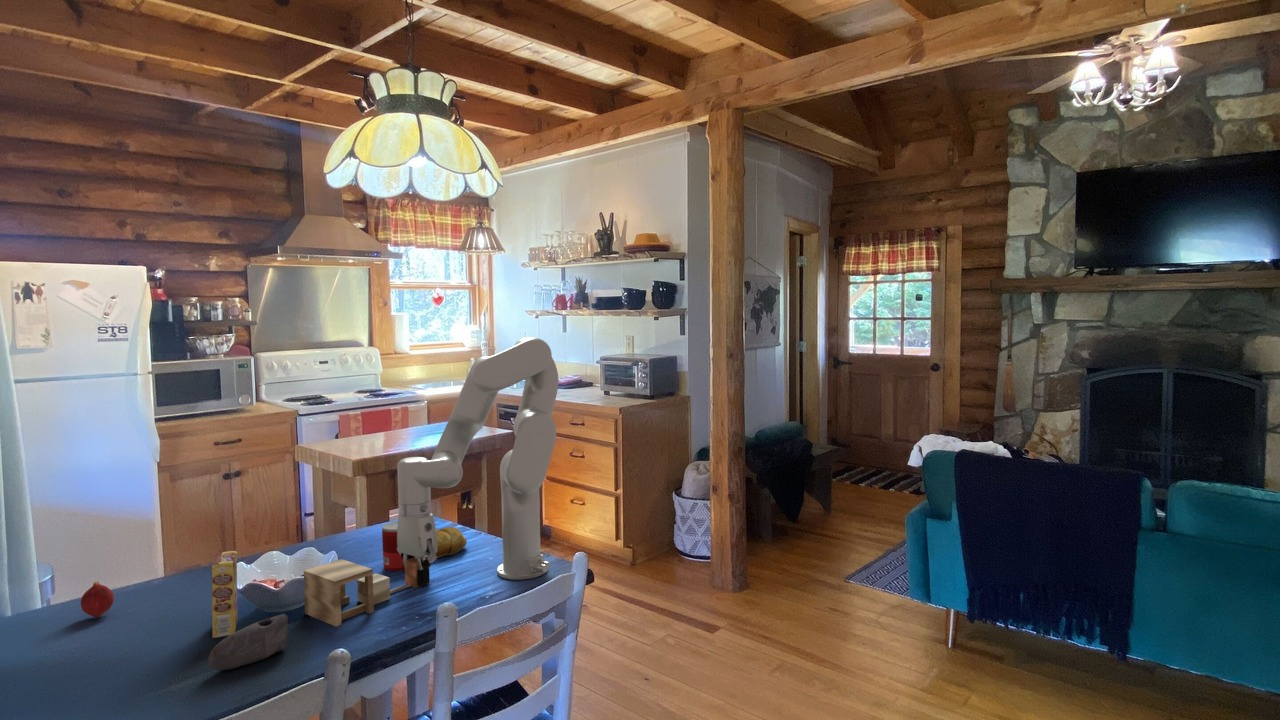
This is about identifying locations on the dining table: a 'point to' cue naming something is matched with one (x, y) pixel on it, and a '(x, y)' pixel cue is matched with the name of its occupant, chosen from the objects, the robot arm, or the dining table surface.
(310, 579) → the oak shelf cubby
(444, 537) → the bread roll
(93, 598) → the red pomegranate
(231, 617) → the candy box
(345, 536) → the dining table surface
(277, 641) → the perforated stone tool
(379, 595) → the birch block with cord
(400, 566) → the canned food
